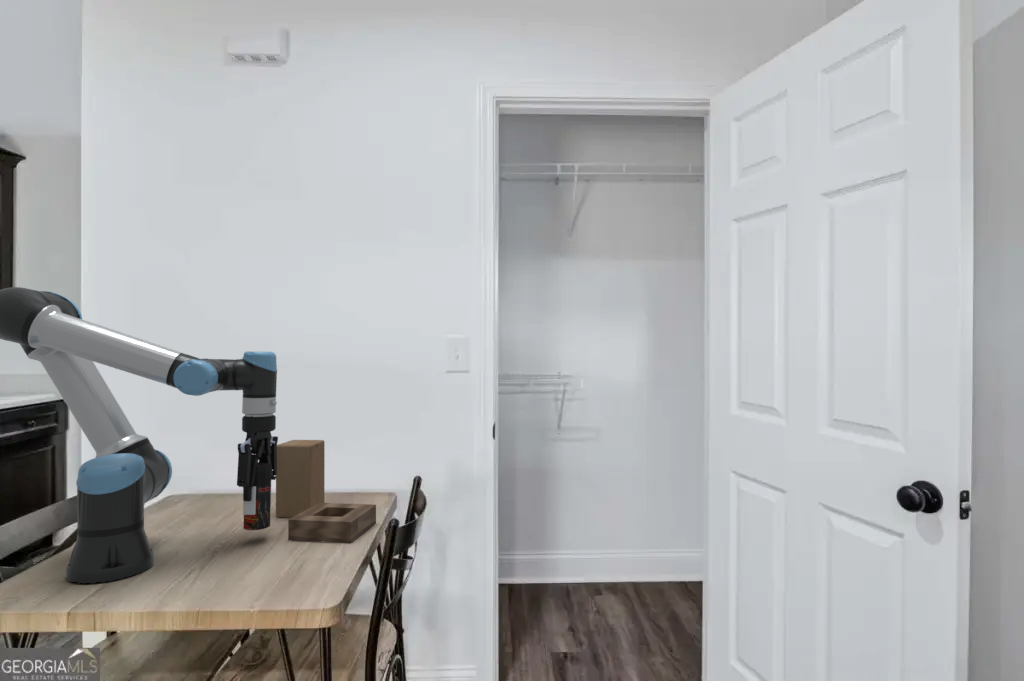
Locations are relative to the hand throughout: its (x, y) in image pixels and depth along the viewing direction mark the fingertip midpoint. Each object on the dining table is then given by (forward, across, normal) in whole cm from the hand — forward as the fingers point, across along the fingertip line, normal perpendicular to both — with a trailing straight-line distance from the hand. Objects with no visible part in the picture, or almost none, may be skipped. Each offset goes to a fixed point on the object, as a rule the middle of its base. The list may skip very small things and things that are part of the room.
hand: (257, 510), depth 143 cm
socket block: (+7, +9, -16) cm, 19 cm away
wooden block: (+7, +24, +2) cm, 25 cm away
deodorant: (+4, 0, 0) cm, 4 cm away
